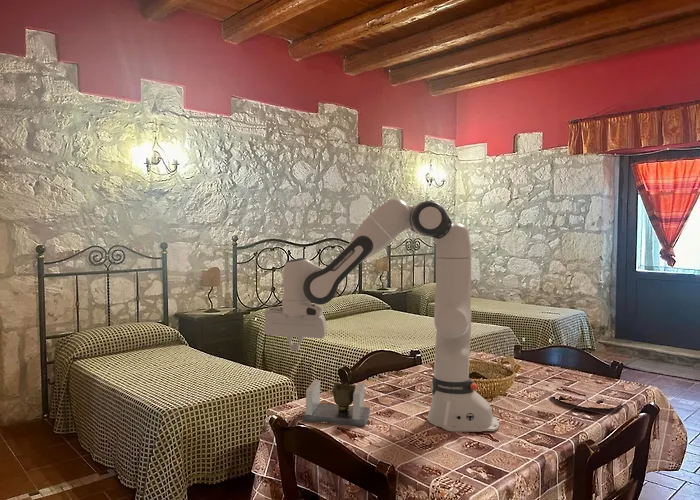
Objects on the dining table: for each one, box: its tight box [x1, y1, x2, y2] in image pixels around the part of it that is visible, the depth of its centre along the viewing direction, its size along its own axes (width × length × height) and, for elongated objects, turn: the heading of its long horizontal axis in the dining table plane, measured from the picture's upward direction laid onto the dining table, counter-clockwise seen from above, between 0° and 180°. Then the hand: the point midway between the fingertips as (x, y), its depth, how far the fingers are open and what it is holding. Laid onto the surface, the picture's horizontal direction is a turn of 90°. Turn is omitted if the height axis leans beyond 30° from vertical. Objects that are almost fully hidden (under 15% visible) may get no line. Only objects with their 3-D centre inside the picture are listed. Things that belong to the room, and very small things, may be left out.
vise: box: [301, 382, 371, 428], centre depth 177 cm, size 20×12×10 cm, turn 81°
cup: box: [332, 382, 356, 411], centre depth 178 cm, size 8×7×8 cm
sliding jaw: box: [305, 379, 321, 415], centre depth 178 cm, size 2×12×8 cm, turn 171°
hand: (294, 350), depth 178 cm, fingers closed
